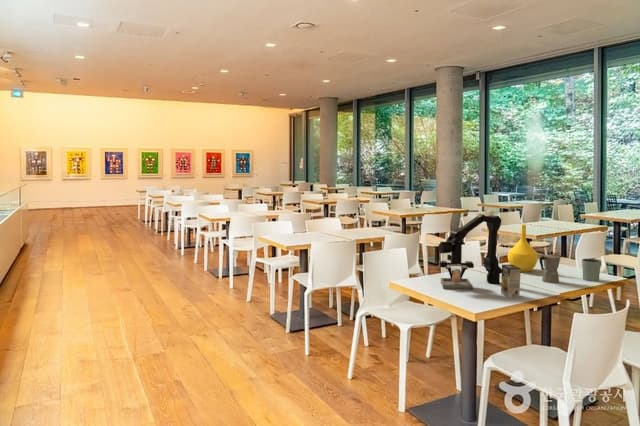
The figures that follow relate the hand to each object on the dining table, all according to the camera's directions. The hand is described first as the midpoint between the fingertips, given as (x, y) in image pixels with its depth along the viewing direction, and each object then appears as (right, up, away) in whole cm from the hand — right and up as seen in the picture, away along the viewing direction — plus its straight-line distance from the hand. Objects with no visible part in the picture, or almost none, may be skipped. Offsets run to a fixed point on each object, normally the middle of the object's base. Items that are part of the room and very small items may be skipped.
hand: (455, 279), depth 286 cm
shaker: (0, -2, 0) cm, 2 cm away
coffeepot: (+58, -3, +8) cm, 58 cm away
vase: (+54, 0, +38) cm, 66 cm away
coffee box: (+23, -6, -21) cm, 32 cm away
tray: (0, -4, 0) cm, 4 cm away
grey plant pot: (+84, -2, +11) cm, 85 cm away
